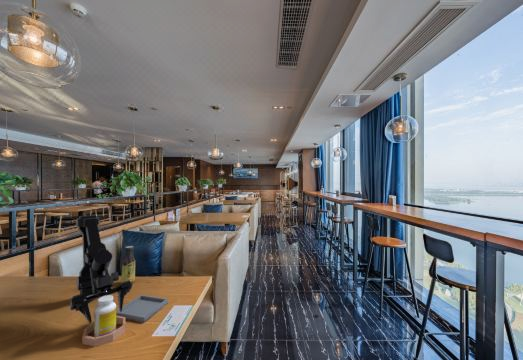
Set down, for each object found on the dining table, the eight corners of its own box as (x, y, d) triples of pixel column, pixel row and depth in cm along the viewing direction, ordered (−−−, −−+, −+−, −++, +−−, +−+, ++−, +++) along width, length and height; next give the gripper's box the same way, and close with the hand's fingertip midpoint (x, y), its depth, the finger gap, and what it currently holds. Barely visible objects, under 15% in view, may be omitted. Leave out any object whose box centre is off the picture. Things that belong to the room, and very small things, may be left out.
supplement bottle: (120, 329, 84) (120, 295, 84) (102, 341, 78) (103, 304, 78) (107, 325, 86) (108, 292, 86) (89, 337, 80) (89, 301, 80)
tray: (114, 317, 92) (114, 312, 92) (141, 298, 106) (141, 294, 106) (144, 322, 88) (144, 317, 88) (168, 303, 102) (168, 298, 102)
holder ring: (73, 342, 77) (74, 334, 77) (106, 320, 89) (107, 313, 89) (103, 348, 74) (103, 341, 74) (133, 325, 87) (133, 318, 87)
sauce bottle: (128, 286, 118) (129, 249, 118) (118, 285, 119) (119, 248, 119) (137, 281, 124) (138, 245, 124) (128, 280, 125) (128, 244, 125)
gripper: (71, 273, 78) (75, 319, 70) (131, 260, 91) (140, 297, 84) (68, 288, 83) (72, 332, 76) (125, 274, 97) (132, 309, 89)
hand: (106, 316), depth 81 cm, fingers open, 9 cm apart
